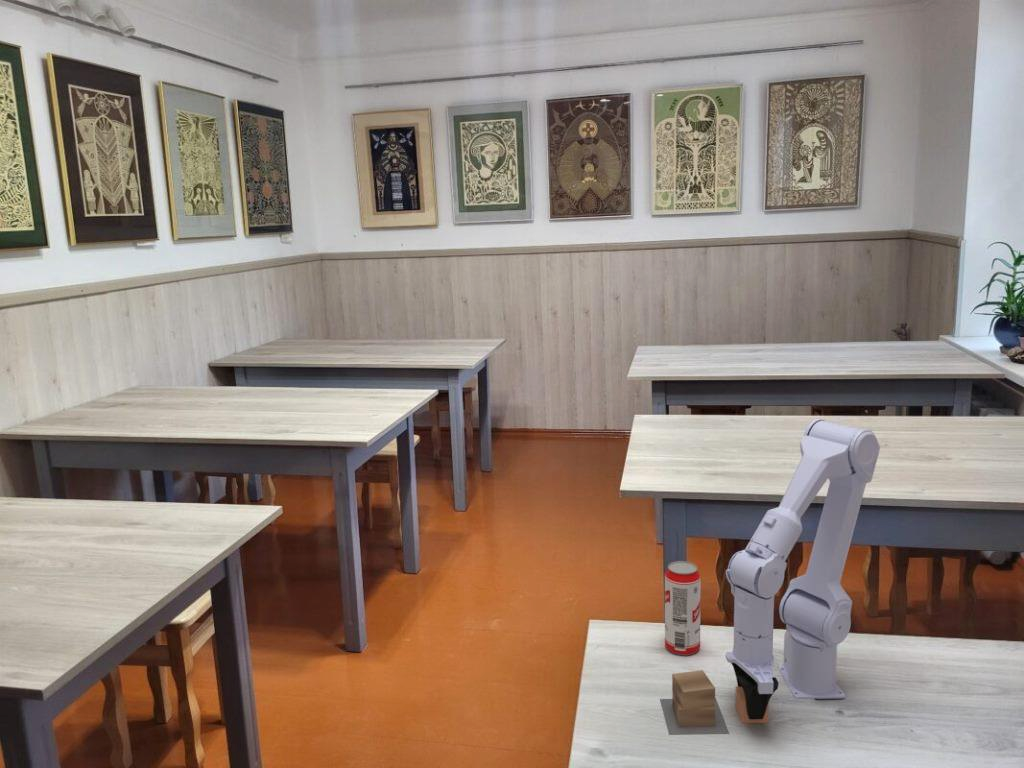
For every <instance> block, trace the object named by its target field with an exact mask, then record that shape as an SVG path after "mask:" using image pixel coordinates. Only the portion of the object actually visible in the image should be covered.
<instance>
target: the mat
mask: <svg viewBox="0 0 1024 768" xmlns="http://www.w3.org/2000/svg"><path fill="white" fill-rule="evenodd" d="M659 701H660V705H661V710H662V713H663V718H664V720H665V724H666V728H667V729H666V730H667V732H668V735H669V736H681V735H684V736H685V735H730V732H729V729H728V726H727V724H726V721H725V719H724V715H723V713H722V711H721V708H720V706H719V703H718V700H717V698H716V697H715V706H714V707H715V726H711V727H679V726H678V723H677V719H676V716H675V712H674V709H673V705H672V698H659Z"/></svg>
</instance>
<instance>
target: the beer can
mask: <svg viewBox="0 0 1024 768" xmlns="http://www.w3.org/2000/svg"><path fill="white" fill-rule="evenodd" d="M701 582H702V581H701V576H700V572H699V571H698V566H697V565H696V564H695V563H693V562H690V561H687V560H686V561H685V560H676V561H672V562H670V563H669V564H668V565H667V570H666V571H665V574H664V644H665V648H666V649H667V651H669V652H670V653H672V654H674V655H678V656H691V655H693V654H696V653H697V652H698V651H699V649H700V648H701Z"/></svg>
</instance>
